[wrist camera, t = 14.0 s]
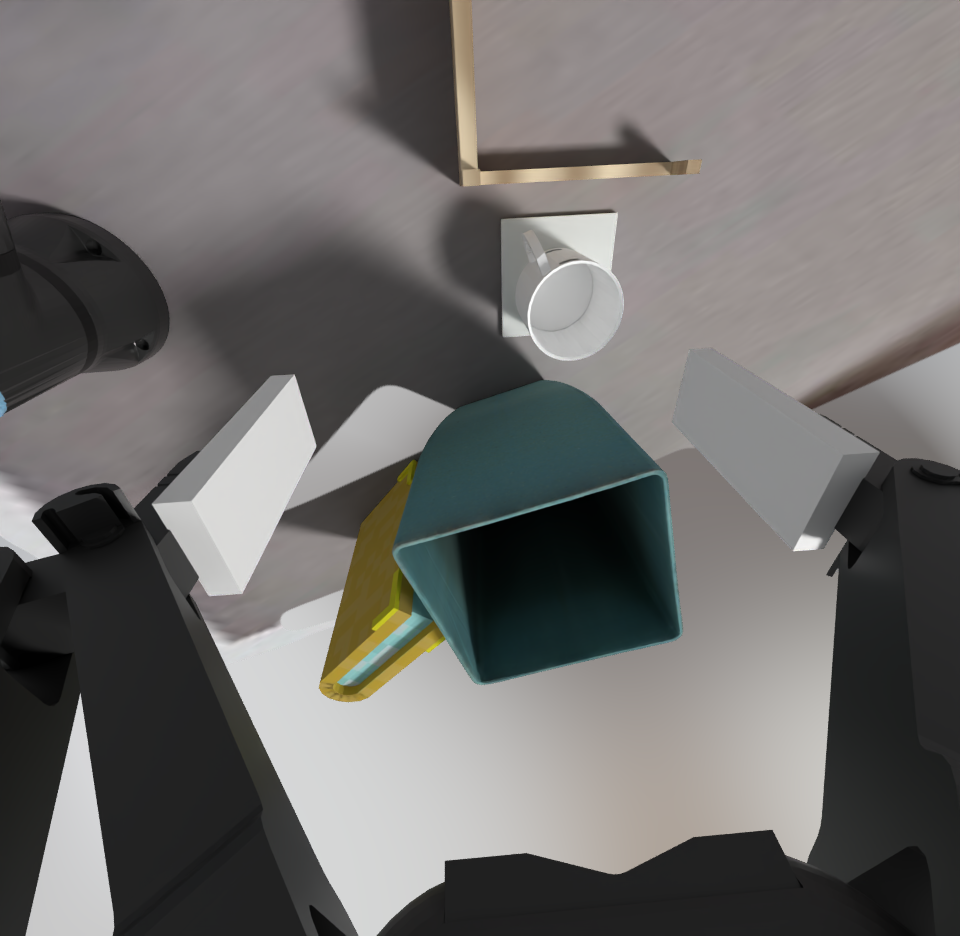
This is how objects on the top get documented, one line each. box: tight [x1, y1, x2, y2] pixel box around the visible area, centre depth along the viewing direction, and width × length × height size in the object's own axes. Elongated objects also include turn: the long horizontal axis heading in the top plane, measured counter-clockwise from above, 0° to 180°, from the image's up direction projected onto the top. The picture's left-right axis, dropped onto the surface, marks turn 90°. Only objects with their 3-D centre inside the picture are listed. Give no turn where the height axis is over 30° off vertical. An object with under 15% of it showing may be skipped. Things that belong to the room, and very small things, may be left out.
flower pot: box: [392, 380, 683, 685], centre depth 46 cm, size 20×20×28 cm
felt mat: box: [501, 213, 618, 337], centre depth 46 cm, size 12×12×1 cm
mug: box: [515, 230, 624, 361], centre depth 42 cm, size 12×9×9 cm
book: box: [319, 459, 445, 702], centre depth 53 cm, size 17×7×25 cm, turn 140°
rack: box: [449, 0, 702, 186], centre depth 31 cm, size 21×21×12 cm
